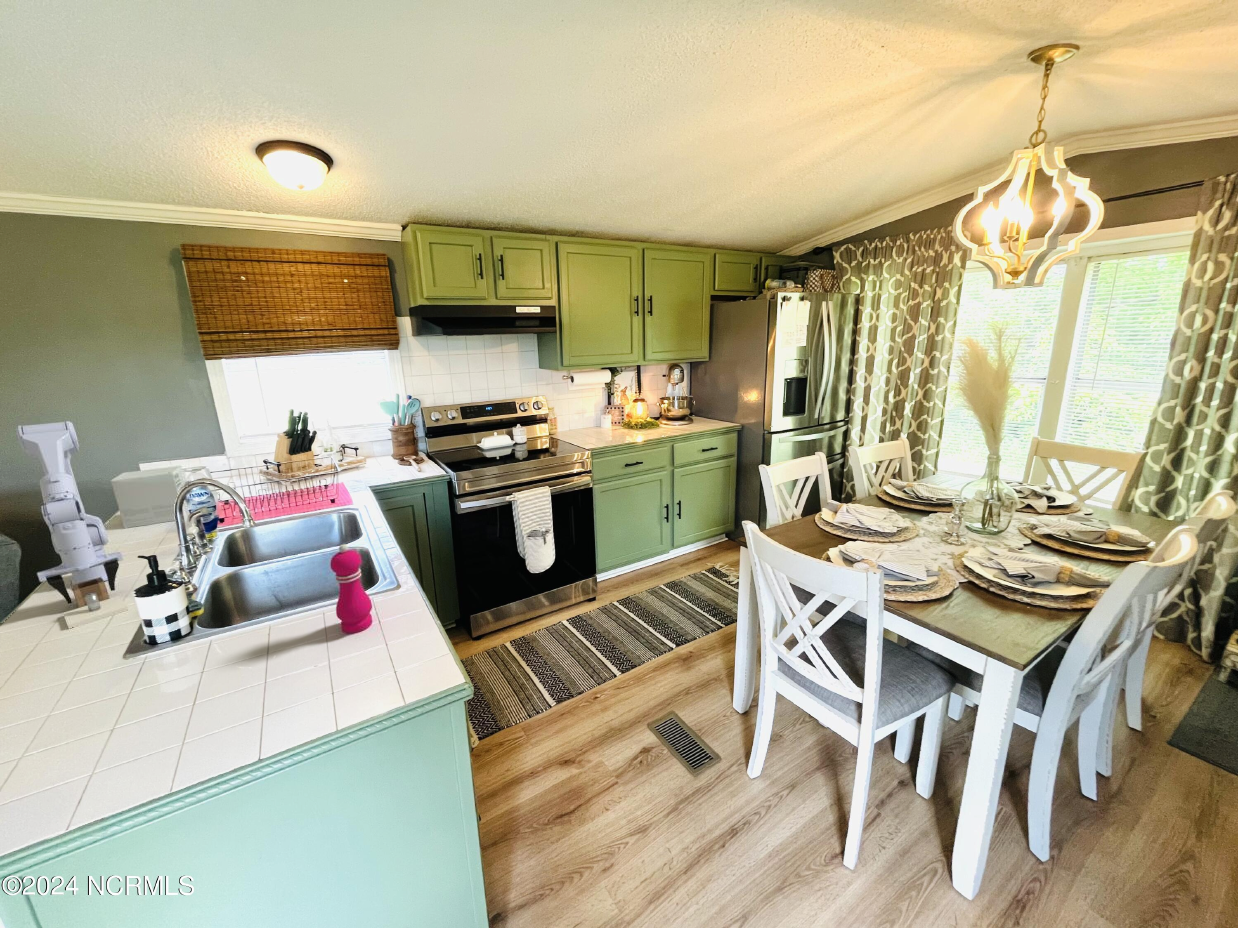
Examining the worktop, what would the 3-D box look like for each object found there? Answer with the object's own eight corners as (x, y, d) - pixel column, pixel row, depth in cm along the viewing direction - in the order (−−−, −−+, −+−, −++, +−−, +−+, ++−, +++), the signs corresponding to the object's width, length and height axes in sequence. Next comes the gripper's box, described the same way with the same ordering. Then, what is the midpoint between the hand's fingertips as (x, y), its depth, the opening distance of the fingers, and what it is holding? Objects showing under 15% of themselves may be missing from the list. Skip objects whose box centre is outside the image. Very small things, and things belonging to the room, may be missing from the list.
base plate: (64, 616, 120) (57, 597, 119) (120, 598, 128) (115, 581, 126) (68, 629, 115) (62, 609, 113) (127, 609, 122) (122, 591, 121)
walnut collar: (77, 602, 126) (70, 585, 125) (106, 594, 130) (101, 576, 129) (80, 609, 123) (73, 591, 122) (110, 600, 127) (104, 582, 126)
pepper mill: (360, 636, 109) (345, 553, 104) (331, 633, 111) (315, 550, 105) (381, 618, 116) (368, 539, 111) (354, 615, 117) (340, 537, 112)
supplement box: (194, 509, 195) (182, 464, 190) (185, 519, 184) (173, 472, 179) (135, 517, 187) (122, 471, 182) (123, 529, 176) (108, 480, 171)
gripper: (32, 561, 115) (51, 613, 118) (118, 540, 126) (133, 588, 129) (29, 553, 119) (48, 604, 122) (113, 534, 130) (128, 580, 133)
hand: (91, 595), depth 126 cm, fingers open, 7 cm apart
